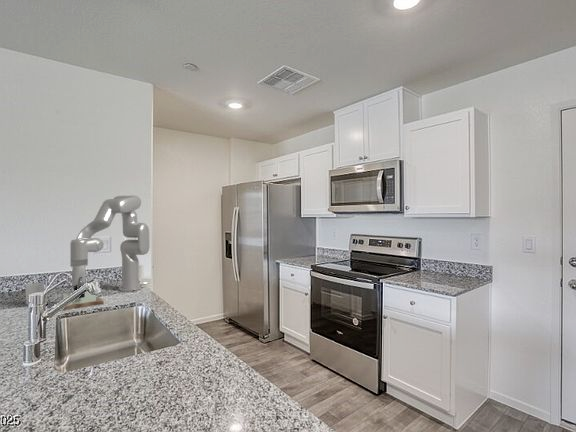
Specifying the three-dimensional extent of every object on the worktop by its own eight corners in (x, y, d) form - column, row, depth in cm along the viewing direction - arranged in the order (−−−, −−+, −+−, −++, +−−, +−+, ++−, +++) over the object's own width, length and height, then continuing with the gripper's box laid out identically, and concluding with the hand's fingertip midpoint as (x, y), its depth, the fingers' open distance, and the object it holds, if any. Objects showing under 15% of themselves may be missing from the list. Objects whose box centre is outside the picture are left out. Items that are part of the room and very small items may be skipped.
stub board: (98, 299, 175) (98, 290, 175) (103, 303, 166) (103, 294, 166) (53, 306, 162) (53, 296, 162) (56, 311, 153) (56, 300, 153)
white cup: (35, 305, 165) (35, 285, 165) (21, 305, 165) (21, 286, 165) (47, 301, 173) (47, 283, 173) (33, 301, 173) (33, 283, 173)
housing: (93, 298, 171) (93, 288, 171) (95, 301, 166) (95, 290, 166) (61, 303, 162) (61, 292, 162) (63, 305, 157) (63, 294, 157)
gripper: (68, 262, 168) (68, 294, 168) (73, 265, 155) (73, 300, 155) (84, 260, 173) (84, 292, 173) (90, 263, 160) (90, 297, 160)
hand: (79, 296), depth 164 cm, fingers open, 9 cm apart
